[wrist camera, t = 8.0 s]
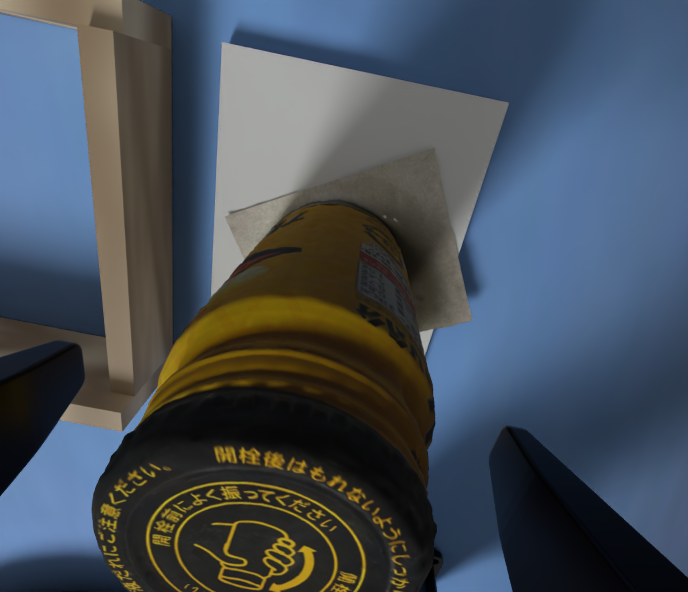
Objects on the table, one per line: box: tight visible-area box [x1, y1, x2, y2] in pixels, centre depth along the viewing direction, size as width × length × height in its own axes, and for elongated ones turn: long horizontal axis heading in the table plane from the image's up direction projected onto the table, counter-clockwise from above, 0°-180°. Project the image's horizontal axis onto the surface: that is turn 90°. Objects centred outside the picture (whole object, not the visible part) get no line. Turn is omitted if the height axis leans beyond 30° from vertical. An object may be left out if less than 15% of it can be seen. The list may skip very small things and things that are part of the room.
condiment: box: [92, 148, 472, 592], centre depth 11 cm, size 7×8×12 cm
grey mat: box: [211, 42, 509, 355], centre depth 17 cm, size 10×14×1 cm
